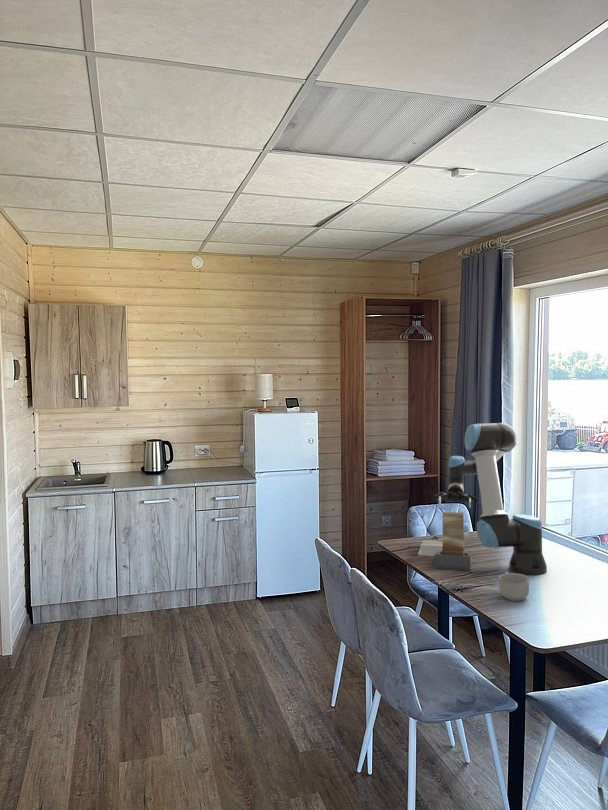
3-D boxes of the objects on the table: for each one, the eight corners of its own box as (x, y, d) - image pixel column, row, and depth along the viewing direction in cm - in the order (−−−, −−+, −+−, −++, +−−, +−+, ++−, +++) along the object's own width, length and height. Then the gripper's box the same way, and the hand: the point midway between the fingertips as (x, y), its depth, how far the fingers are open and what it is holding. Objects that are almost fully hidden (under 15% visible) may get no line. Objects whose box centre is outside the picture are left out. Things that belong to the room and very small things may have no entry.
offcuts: (442, 563, 267) (442, 545, 267) (463, 564, 264) (463, 546, 264) (441, 567, 261) (441, 549, 261) (463, 568, 258) (463, 550, 258)
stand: (420, 552, 290) (420, 539, 289) (450, 553, 285) (450, 541, 285) (418, 558, 280) (417, 545, 280) (448, 560, 276) (448, 547, 276)
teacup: (532, 604, 221) (531, 582, 221) (501, 603, 223) (501, 581, 223) (524, 590, 235) (524, 570, 235) (495, 589, 237) (495, 569, 236)
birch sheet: (443, 560, 271) (442, 511, 270) (464, 561, 269) (463, 512, 268) (443, 561, 269) (442, 512, 268) (464, 563, 266) (463, 513, 265)
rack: (437, 561, 274) (436, 545, 274) (471, 563, 270) (471, 547, 270) (434, 571, 260) (434, 554, 260) (470, 574, 256) (470, 556, 255)
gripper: (482, 500, 294) (482, 513, 273) (429, 498, 300) (426, 510, 280) (482, 485, 293) (483, 497, 272) (429, 483, 299) (426, 494, 279)
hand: (454, 503), depth 276 cm, fingers open, 13 cm apart
